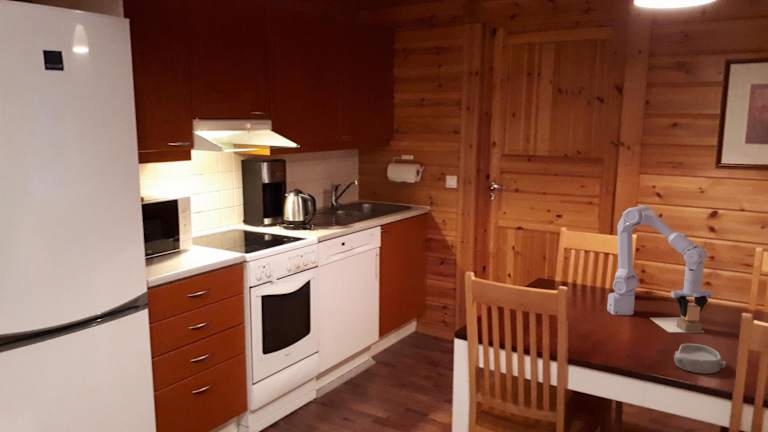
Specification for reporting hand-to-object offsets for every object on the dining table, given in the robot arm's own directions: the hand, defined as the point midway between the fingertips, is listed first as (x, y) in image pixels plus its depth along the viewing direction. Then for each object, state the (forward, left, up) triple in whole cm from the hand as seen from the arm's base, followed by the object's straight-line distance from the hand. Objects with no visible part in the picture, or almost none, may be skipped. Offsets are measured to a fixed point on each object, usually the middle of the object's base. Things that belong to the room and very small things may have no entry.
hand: (690, 315), depth 214 cm
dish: (-13, -29, -6) cm, 32 cm away
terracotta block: (0, 0, -1) cm, 1 cm away
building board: (-3, +5, -6) cm, 8 cm away
